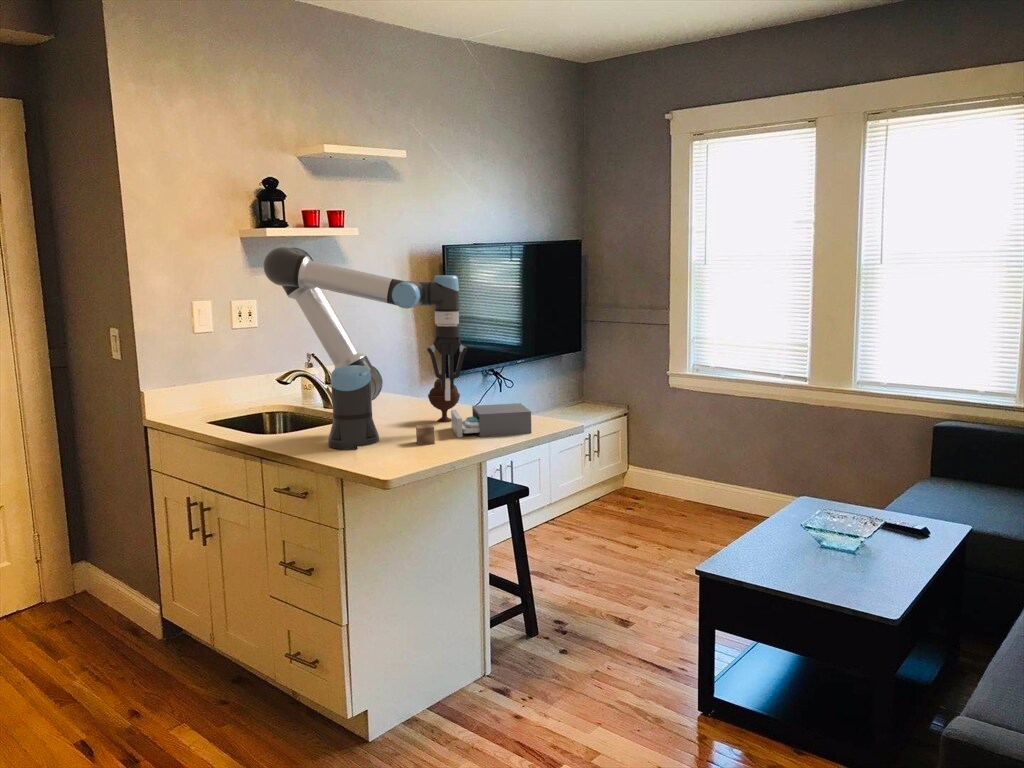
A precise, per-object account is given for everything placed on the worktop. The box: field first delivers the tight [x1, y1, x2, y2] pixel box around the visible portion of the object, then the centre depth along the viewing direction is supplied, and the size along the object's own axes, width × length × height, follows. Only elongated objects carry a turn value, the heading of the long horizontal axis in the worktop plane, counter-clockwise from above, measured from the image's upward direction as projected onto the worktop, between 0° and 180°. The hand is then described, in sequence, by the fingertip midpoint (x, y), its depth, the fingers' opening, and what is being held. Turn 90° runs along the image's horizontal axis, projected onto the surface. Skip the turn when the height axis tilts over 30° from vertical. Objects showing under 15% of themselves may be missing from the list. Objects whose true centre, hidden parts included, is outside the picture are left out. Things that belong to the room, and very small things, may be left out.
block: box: [415, 423, 436, 446], centre depth 246 cm, size 5×5×5 cm
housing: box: [471, 402, 532, 438], centre depth 262 cm, size 16×17×7 cm
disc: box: [464, 415, 480, 428], centre depth 261 cm, size 8×8×3 cm
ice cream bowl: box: [427, 378, 461, 424], centre depth 279 cm, size 11×11×15 cm
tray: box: [450, 409, 480, 438], centre depth 261 cm, size 16×17×6 cm
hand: (447, 399), depth 261 cm, fingers closed
